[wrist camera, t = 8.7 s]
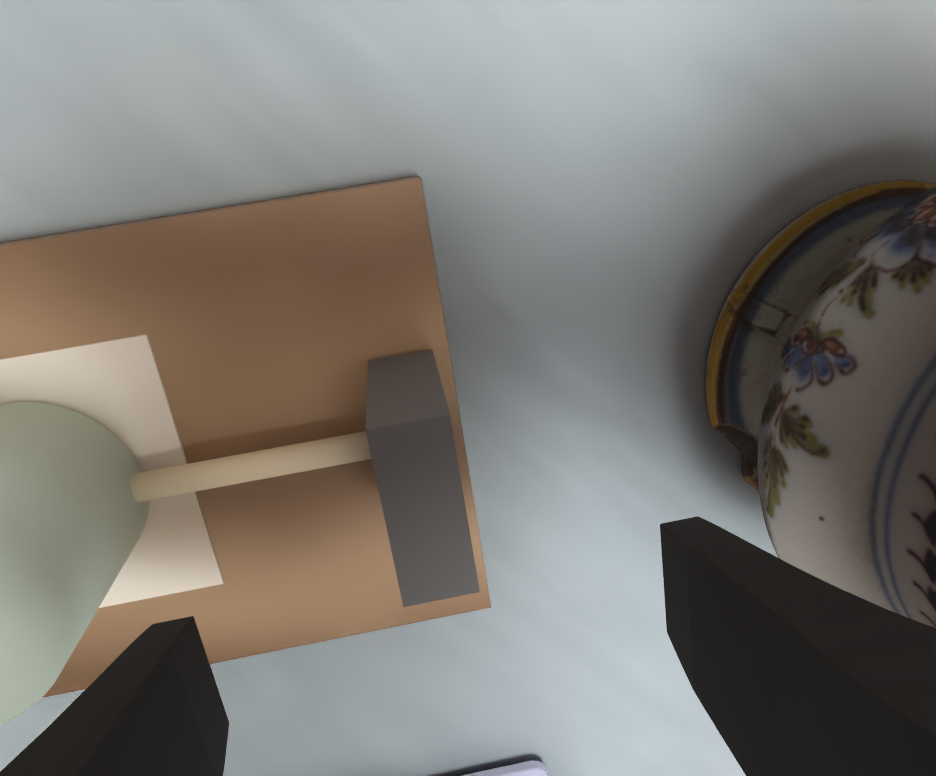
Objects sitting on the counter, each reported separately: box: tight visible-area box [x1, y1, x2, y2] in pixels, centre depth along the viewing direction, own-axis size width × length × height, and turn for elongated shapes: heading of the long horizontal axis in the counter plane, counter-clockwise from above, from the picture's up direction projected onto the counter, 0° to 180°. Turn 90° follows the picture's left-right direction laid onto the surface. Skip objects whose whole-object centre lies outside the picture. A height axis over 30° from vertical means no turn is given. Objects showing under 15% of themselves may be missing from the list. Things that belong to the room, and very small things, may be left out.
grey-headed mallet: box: [0, 349, 480, 723], centre depth 16 cm, size 5×13×5 cm, turn 99°
